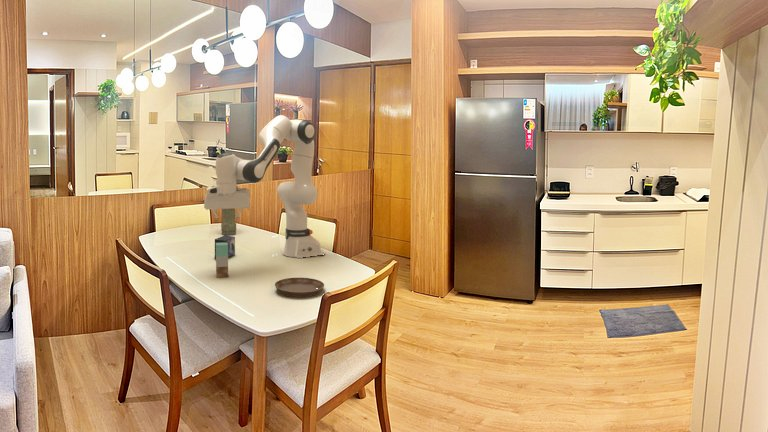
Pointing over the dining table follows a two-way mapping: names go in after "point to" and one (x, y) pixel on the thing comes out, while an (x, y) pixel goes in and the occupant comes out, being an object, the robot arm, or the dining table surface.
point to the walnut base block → (221, 272)
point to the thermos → (228, 222)
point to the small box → (231, 244)
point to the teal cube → (222, 249)
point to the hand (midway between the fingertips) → (227, 218)
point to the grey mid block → (221, 261)
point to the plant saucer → (299, 287)
